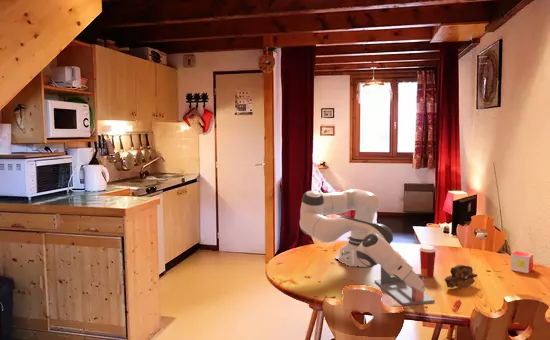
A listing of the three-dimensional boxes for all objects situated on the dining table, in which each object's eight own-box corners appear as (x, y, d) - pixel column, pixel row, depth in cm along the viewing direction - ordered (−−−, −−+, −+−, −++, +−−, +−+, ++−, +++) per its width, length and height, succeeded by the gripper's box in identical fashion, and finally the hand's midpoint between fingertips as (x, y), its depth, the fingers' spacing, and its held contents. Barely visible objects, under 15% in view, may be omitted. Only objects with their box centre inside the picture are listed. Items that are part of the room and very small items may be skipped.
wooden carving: (451, 292, 194) (451, 270, 193) (443, 288, 198) (443, 267, 197) (479, 286, 200) (479, 264, 199) (471, 283, 204) (471, 262, 203)
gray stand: (374, 282, 208) (374, 263, 207) (402, 279, 210) (402, 261, 209) (403, 305, 180) (403, 283, 179) (434, 302, 183) (435, 281, 182)
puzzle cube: (510, 270, 222) (511, 254, 221) (515, 266, 228) (515, 251, 227) (528, 273, 217) (529, 257, 216) (532, 269, 222) (533, 253, 222)
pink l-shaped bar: (394, 285, 199) (394, 263, 198) (402, 285, 200) (402, 262, 199) (415, 302, 180) (416, 277, 179) (424, 301, 181) (424, 276, 180)
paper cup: (435, 273, 218) (436, 245, 216) (435, 279, 210) (436, 250, 209) (418, 272, 220) (419, 244, 219) (418, 277, 213) (418, 248, 212)
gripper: (379, 263, 189) (400, 284, 192) (401, 279, 169) (424, 301, 172) (389, 252, 190) (410, 273, 192) (412, 266, 170) (435, 289, 172)
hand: (417, 286), depth 182 cm, fingers open, 8 cm apart
